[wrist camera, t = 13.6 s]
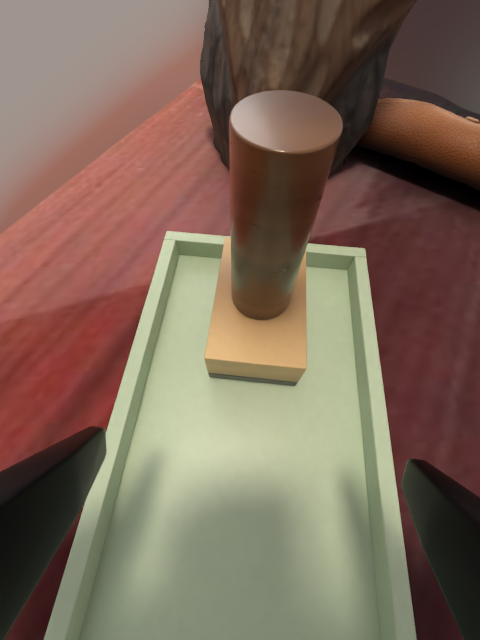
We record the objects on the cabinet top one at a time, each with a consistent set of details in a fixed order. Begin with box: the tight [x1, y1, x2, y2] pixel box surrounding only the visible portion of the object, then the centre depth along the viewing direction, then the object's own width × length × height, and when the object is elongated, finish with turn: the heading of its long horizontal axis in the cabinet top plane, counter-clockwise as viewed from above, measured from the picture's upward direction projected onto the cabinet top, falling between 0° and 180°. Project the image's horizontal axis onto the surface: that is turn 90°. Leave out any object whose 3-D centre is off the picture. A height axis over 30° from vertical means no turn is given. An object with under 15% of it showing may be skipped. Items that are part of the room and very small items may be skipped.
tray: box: [44, 231, 417, 640], centre depth 15 cm, size 26×14×2 cm, turn 174°
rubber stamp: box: [204, 90, 343, 386], centre depth 14 cm, size 8×5×12 cm, turn 174°
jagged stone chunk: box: [200, 0, 416, 175], centre depth 19 cm, size 13×13×20 cm
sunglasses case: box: [356, 98, 480, 191], centre depth 26 cm, size 18×7×7 cm, turn 55°
